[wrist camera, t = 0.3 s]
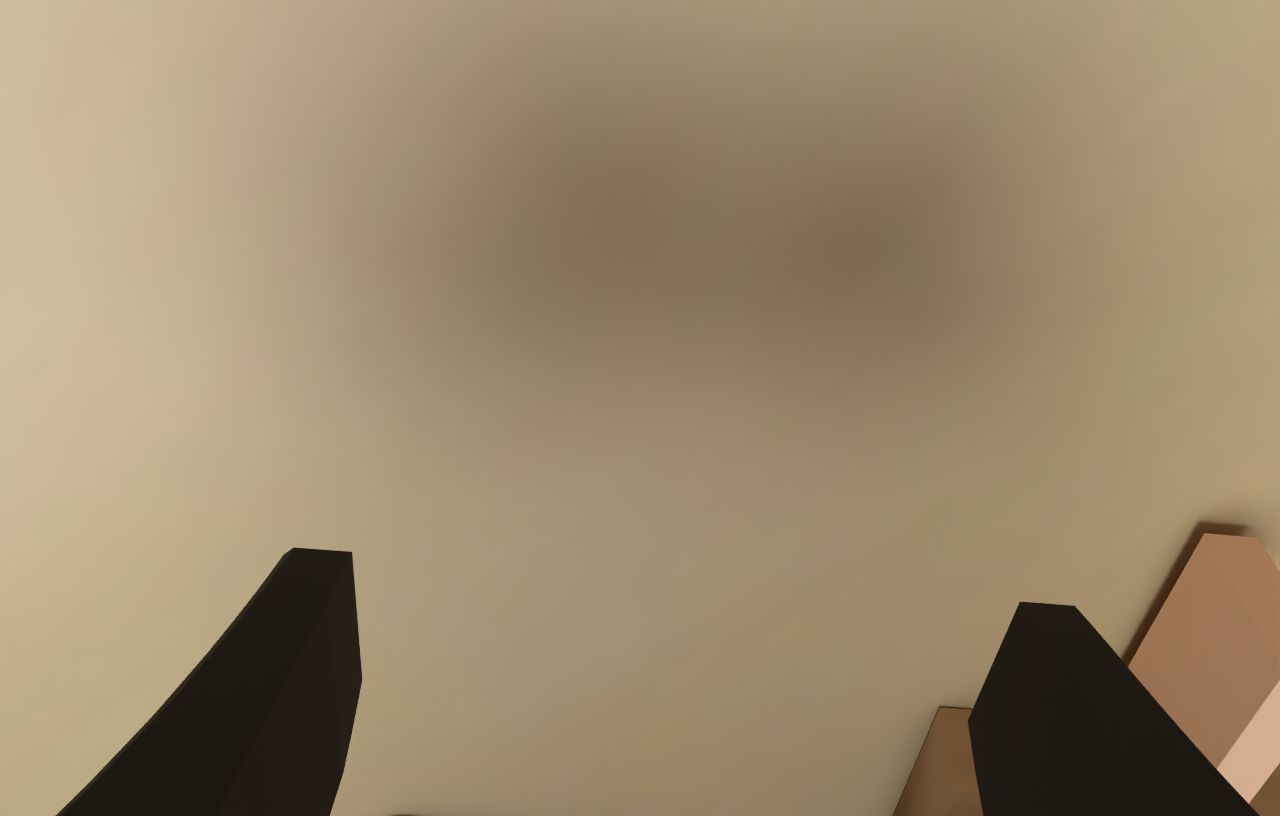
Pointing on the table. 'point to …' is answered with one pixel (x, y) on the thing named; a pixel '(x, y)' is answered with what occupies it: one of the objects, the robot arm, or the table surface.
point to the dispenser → (947, 786)
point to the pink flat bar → (1221, 658)
